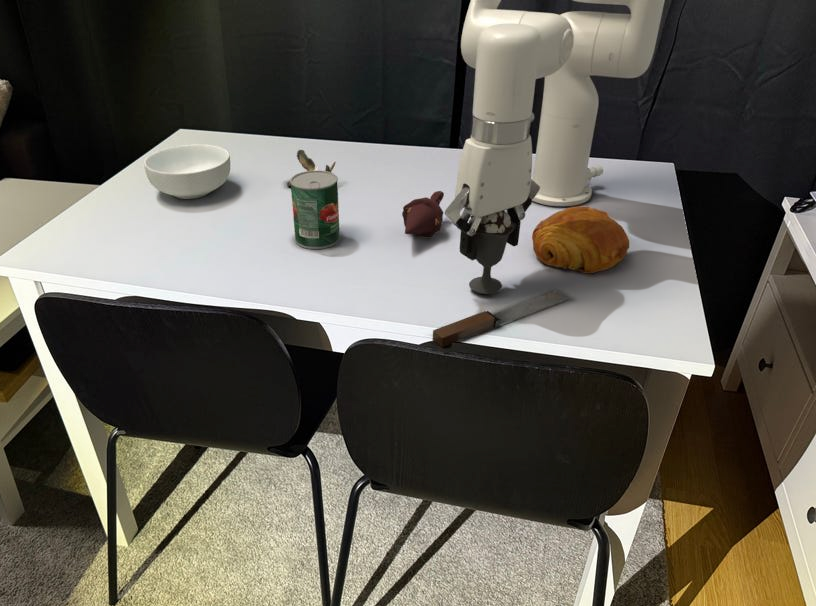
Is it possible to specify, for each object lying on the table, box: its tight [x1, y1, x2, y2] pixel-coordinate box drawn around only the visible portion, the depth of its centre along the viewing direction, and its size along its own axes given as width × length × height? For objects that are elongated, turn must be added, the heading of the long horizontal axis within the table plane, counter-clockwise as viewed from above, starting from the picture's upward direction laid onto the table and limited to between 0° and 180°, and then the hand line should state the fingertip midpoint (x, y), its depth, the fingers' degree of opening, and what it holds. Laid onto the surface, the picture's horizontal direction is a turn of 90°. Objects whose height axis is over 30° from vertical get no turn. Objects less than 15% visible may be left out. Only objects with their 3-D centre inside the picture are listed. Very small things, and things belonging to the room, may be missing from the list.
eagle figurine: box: [286, 149, 336, 187], centre depth 142 cm, size 8×7×9 cm
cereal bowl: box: [143, 143, 231, 200], centre depth 141 cm, size 17×17×7 cm
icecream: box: [401, 190, 445, 239], centre depth 122 cm, size 7×7×15 cm
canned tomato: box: [289, 169, 341, 250], centre depth 121 cm, size 8×8×11 cm
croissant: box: [531, 205, 630, 274], centre depth 114 cm, size 14×16×8 cm
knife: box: [432, 290, 569, 348], centre depth 101 cm, size 23×3×2 cm, turn 120°
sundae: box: [468, 210, 515, 295], centre depth 103 cm, size 7×7×15 cm
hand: (488, 248), depth 104 cm, fingers closed on sundae, 6 cm apart
